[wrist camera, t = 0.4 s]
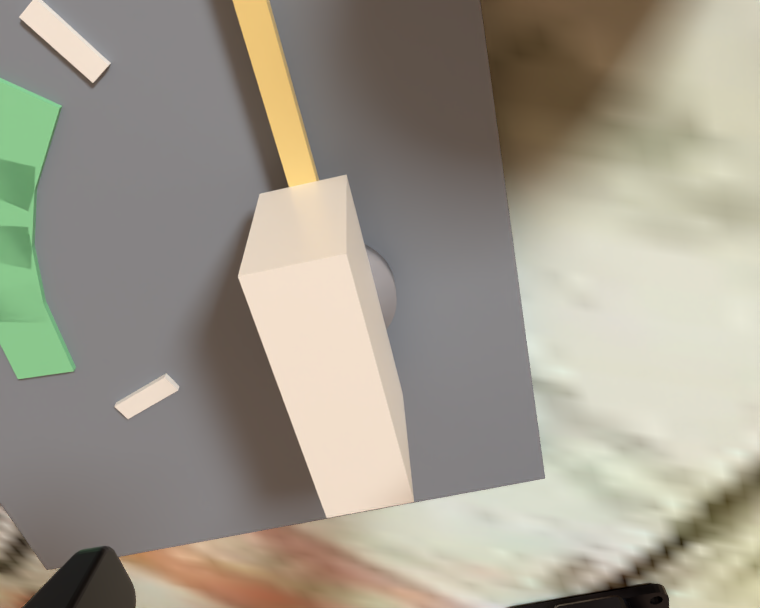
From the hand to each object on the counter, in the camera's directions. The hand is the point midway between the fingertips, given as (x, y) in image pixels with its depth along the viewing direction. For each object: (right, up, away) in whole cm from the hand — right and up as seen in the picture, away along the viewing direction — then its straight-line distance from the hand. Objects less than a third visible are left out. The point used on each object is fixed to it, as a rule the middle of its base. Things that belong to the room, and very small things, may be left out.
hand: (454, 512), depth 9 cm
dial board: (-6, +4, +12) cm, 14 cm away
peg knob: (-3, +5, +10) cm, 11 cm away
